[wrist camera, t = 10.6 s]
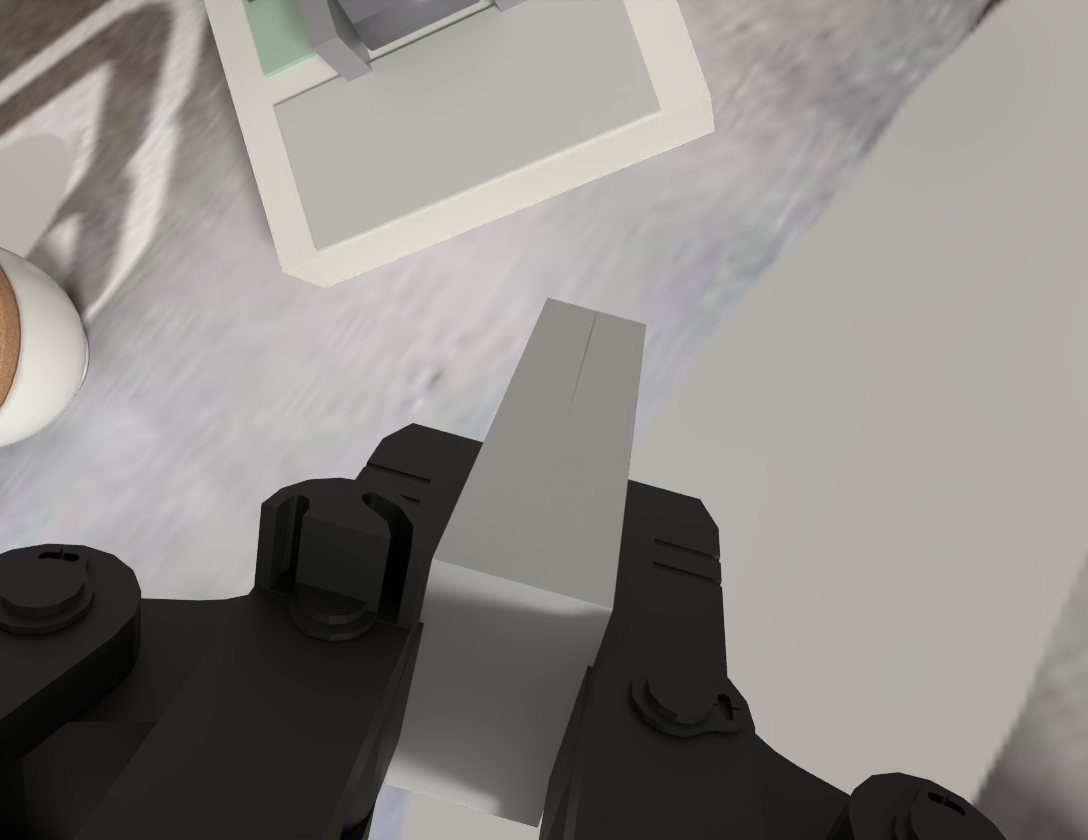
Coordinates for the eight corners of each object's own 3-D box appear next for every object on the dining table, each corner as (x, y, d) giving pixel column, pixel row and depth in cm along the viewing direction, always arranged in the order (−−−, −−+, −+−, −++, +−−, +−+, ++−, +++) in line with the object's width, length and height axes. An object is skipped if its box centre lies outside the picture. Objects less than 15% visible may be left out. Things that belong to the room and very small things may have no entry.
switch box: (714, 131, 39) (705, 56, 32) (325, 288, 43) (236, 254, 36) (604, -182, 41) (570, -323, 33) (239, -1, 45) (138, -91, 37)
